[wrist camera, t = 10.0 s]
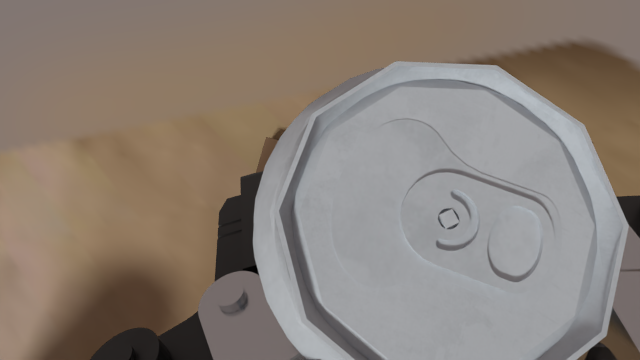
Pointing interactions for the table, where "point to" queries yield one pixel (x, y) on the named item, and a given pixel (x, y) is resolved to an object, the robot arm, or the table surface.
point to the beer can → (438, 222)
